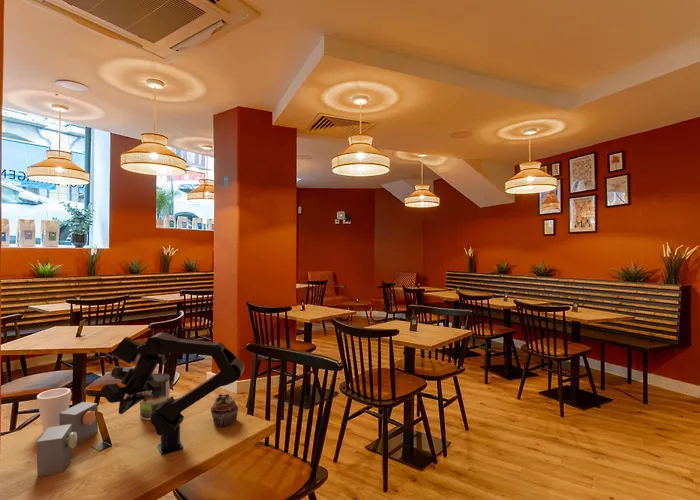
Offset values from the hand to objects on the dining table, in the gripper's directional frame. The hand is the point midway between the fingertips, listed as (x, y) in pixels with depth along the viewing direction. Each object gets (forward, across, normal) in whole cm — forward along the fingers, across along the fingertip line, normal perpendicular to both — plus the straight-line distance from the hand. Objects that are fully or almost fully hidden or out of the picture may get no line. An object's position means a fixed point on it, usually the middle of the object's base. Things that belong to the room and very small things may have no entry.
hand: (120, 413), depth 127 cm
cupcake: (-3, -30, +19) cm, 35 cm away
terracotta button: (+13, -2, -14) cm, 19 cm away
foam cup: (+24, -3, -25) cm, 35 cm away
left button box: (+17, +11, -2) cm, 20 cm away
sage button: (+12, +11, -3) cm, 16 cm away
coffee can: (+10, -25, -7) cm, 28 cm away
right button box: (+18, -3, -13) cm, 23 cm away
